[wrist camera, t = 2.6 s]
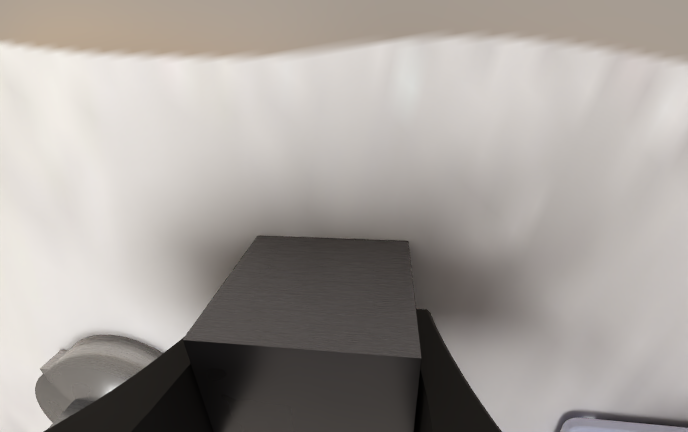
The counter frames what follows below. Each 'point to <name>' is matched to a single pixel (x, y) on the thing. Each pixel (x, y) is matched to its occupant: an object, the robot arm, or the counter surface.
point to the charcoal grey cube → (311, 339)
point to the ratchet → (89, 373)
